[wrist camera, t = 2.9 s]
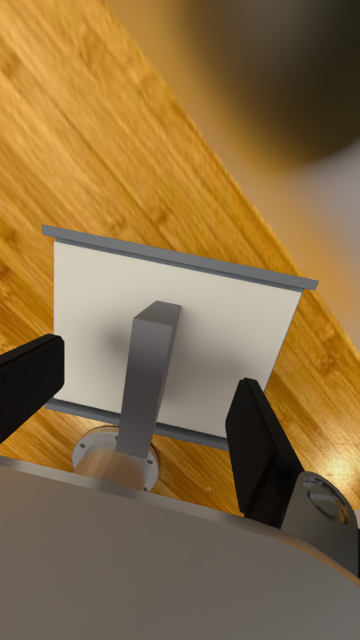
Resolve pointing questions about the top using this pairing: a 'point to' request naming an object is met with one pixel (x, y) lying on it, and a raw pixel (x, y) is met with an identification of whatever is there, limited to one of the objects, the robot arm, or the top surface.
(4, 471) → the robot arm
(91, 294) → the cover plate
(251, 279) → the slate box
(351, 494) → the top surface
